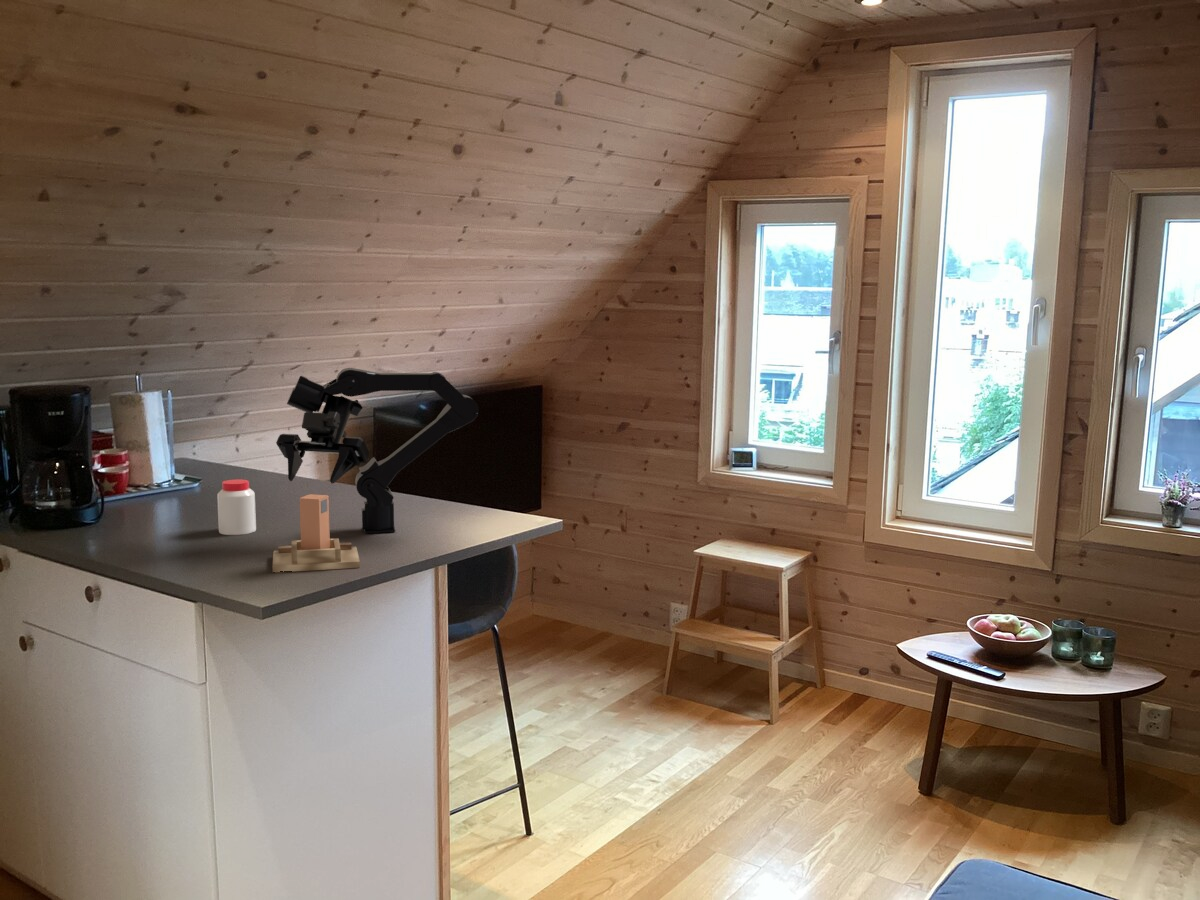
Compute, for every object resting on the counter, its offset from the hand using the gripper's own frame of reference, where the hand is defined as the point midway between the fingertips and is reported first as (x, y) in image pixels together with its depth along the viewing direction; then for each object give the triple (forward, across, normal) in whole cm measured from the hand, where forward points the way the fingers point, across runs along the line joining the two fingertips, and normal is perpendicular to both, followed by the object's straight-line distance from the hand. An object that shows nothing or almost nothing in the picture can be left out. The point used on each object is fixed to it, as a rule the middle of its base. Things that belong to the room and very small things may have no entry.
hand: (310, 481), depth 219 cm
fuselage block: (+18, +7, 0) cm, 19 cm away
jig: (+18, +7, +1) cm, 19 cm away
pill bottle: (+4, -22, +16) cm, 27 cm away
